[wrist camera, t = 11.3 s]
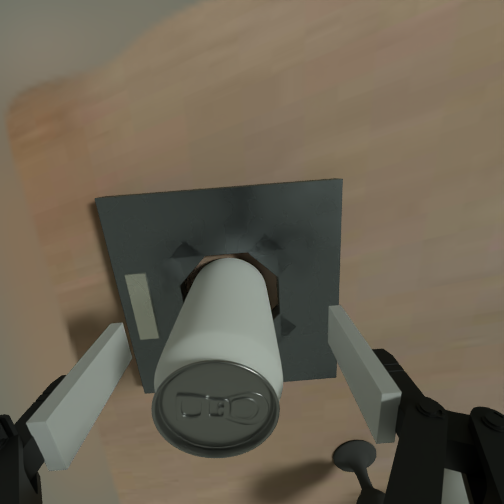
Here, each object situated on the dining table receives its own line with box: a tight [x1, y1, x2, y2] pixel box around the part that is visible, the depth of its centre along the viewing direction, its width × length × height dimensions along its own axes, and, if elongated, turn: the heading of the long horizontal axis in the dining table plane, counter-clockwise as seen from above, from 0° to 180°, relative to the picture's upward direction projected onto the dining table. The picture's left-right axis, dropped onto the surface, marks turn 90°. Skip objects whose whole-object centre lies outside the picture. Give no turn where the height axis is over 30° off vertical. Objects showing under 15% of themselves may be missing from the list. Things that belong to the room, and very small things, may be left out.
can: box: [152, 258, 283, 458], centre depth 17 cm, size 6×6×12 cm
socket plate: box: [95, 178, 343, 393], centre depth 22 cm, size 18×18×2 cm
